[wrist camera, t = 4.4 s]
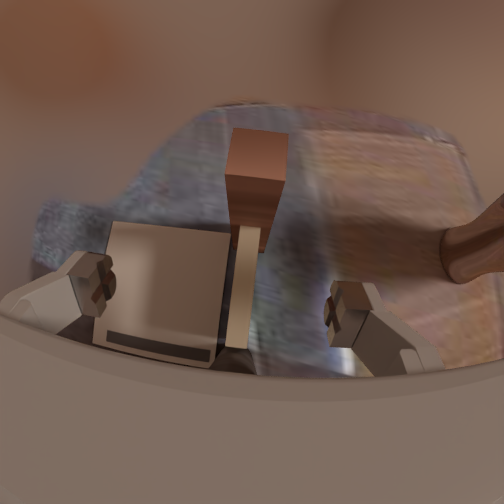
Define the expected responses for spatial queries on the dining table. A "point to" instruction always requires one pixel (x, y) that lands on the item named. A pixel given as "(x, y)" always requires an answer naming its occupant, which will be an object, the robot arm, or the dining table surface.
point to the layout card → (165, 293)
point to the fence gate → (251, 214)
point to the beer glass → (475, 245)
